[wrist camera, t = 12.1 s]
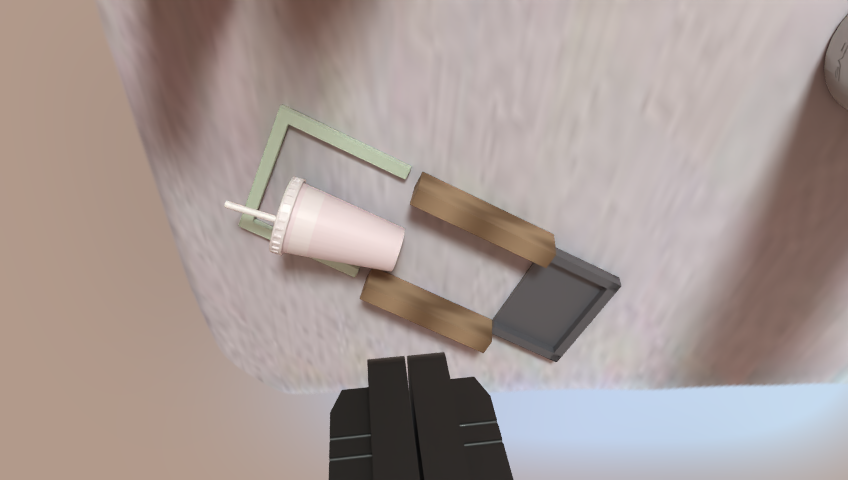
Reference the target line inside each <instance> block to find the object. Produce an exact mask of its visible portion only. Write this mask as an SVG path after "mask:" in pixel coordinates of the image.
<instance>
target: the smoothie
mask: <svg viewBox="0 0 848 480" xmlns="http://www.w3.org/2000/svg"><path fill="white" fill-rule="evenodd" d="M224 207H225V208H228V209H232V210H235V211H238V212H241V213H245V214H248V215H251V216H254V217H258V218H261V219H264V220H267V221H271V222H274V226H273V230H272V234H271V239H270V245H269V250H270V252H272V253H275V254H279V255H280V256H282V255H283V253H290V254H295V255H300V256H305V257H311V258H317V259H323V260H328V261H334V262H340V263H345V264H351V265H357V266H362V267H368V268H373V269H379V270H385V271H390V272H392V270H393V268H394V266H395V263H396V261H397V258H398V255H399V252H400V249H401V245H402V242H403V238H404V233H405V228H403V227H401V226H398V225H396V224H394V223H392V222H390V221H387V220H385V219H383V218H381V217H379V216H376V215H374V214H372V213H370V212H367V211H365V210H363V209H361V208H359V207H356V206H354V205H352V204H350V203H348V202H345V201H343V200H341V199H339V198H337V197H334V196H332V195H330V194H328V193H326V192H324V191H321V190H319V189H317V188H314V187H312V186H310V185H308V184H306V179H300V178H297V177H293V178H292V179H291V180H290V182H289V184H288V186H287V188H286V190H285V193H284V195H283V198H282V201H281V204H280V207H279V210H278V213H277V216H275V215H272V214H268V213H265V212H262V211H259V210H255V209H252V208H249V207H246V206H243V205H239V204H236V203H233V202H230V201H226V203H225V206H224Z"/></svg>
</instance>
